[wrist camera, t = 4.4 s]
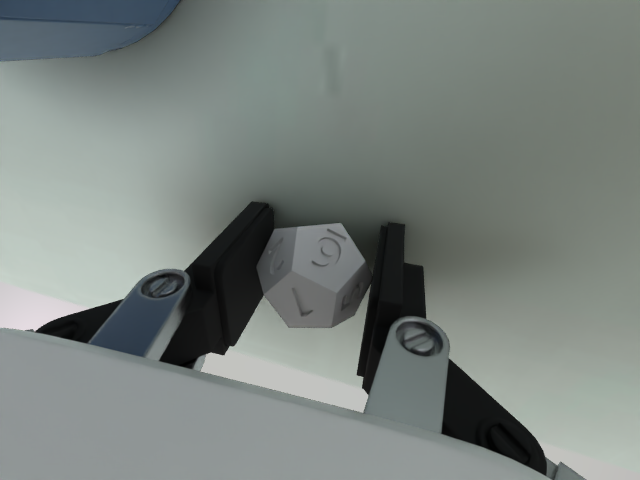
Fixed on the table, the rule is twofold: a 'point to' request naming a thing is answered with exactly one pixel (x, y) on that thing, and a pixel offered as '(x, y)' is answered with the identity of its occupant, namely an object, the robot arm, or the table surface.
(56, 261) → the table surface
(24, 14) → the blue cylindrical tin
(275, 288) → the game die
